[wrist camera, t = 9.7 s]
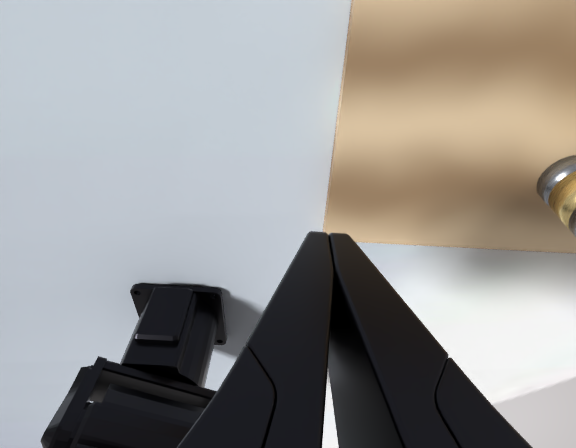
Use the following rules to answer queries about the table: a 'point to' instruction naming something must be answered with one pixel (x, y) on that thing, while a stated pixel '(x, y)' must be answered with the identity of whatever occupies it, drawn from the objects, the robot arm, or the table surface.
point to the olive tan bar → (564, 198)
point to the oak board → (454, 123)
